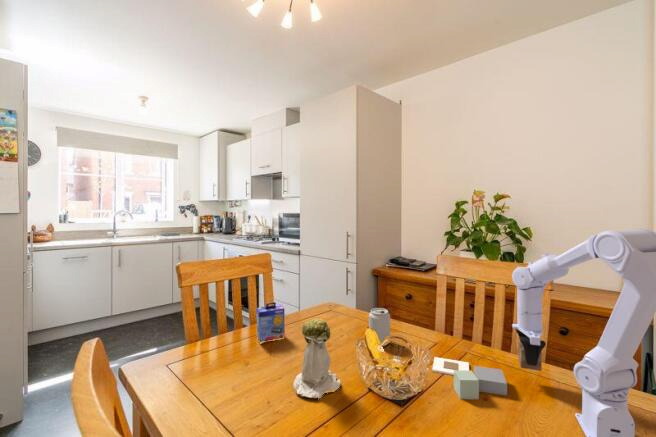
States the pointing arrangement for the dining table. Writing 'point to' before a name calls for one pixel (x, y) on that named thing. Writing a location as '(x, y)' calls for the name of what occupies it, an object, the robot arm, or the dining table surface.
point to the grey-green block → (466, 384)
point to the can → (380, 322)
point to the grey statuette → (315, 362)
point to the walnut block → (523, 360)
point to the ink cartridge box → (270, 322)
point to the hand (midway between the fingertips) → (529, 359)
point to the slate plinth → (491, 380)
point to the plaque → (448, 365)
